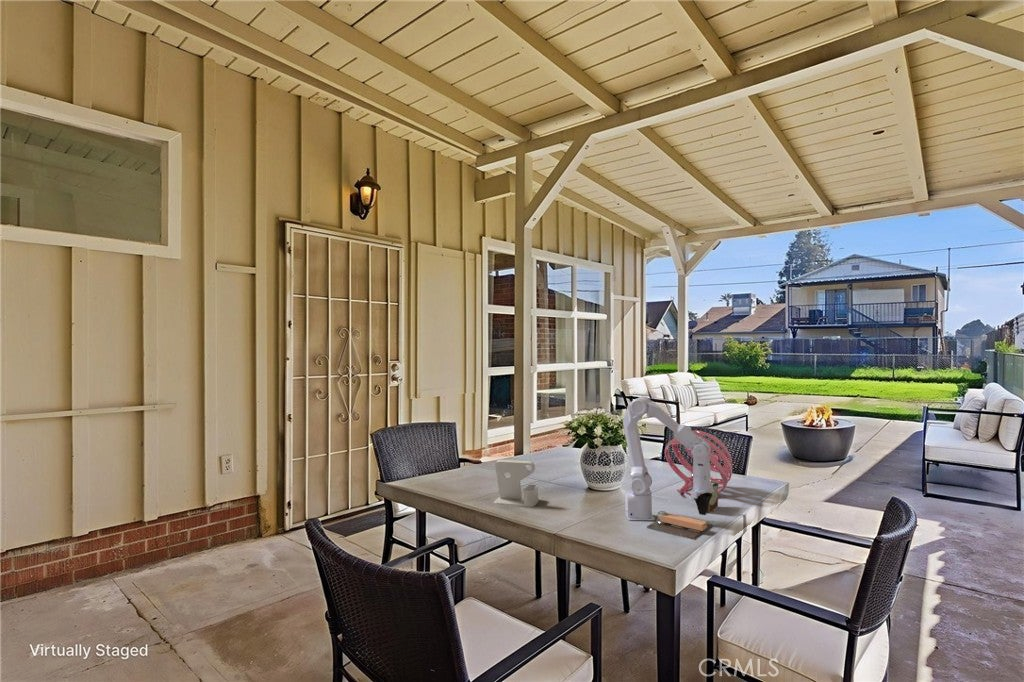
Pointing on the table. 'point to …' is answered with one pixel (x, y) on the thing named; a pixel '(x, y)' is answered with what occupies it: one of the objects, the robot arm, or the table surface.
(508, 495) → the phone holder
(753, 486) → the table surface
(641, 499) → the robot arm
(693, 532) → the label plate
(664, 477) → the table surface
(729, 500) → the table surface
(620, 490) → the table surface
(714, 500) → the food container
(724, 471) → the spiral basket
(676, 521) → the swing bar
